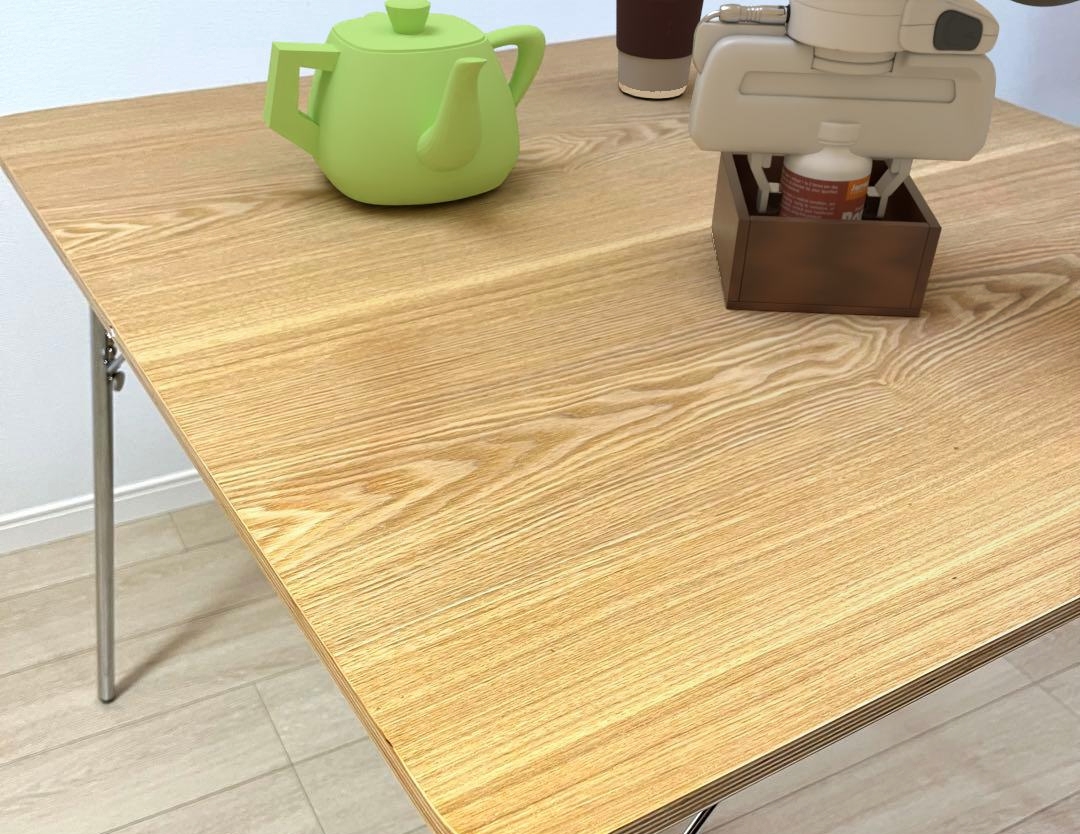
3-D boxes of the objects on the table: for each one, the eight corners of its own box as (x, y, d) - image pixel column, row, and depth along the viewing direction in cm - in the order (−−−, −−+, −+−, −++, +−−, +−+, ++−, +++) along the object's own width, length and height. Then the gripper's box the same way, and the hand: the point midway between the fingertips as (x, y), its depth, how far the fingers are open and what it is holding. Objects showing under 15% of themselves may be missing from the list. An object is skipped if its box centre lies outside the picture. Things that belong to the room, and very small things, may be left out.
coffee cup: (585, 87, 121) (594, -71, 111) (649, 71, 126) (662, -81, 117) (654, 111, 115) (669, -54, 106) (718, 93, 120) (737, -65, 111)
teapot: (369, 132, 108) (358, -35, 99) (567, 165, 102) (574, -9, 93) (261, 200, 94) (237, 12, 85) (483, 242, 88) (482, 47, 79)
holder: (880, 239, 91) (899, 157, 87) (919, 317, 80) (942, 227, 76) (710, 232, 91) (720, 149, 87) (726, 309, 80) (738, 219, 76)
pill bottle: (844, 288, 82) (875, 133, 75) (760, 273, 84) (783, 120, 77) (856, 255, 87) (887, 107, 80) (776, 242, 88) (800, 95, 82)
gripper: (701, 14, 72) (678, 224, 80) (1025, 26, 72) (969, 236, 80) (694, -9, 77) (673, 191, 85) (997, 2, 77) (947, 202, 85)
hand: (819, 213), depth 83 cm, fingers closed on pill bottle, 6 cm apart
